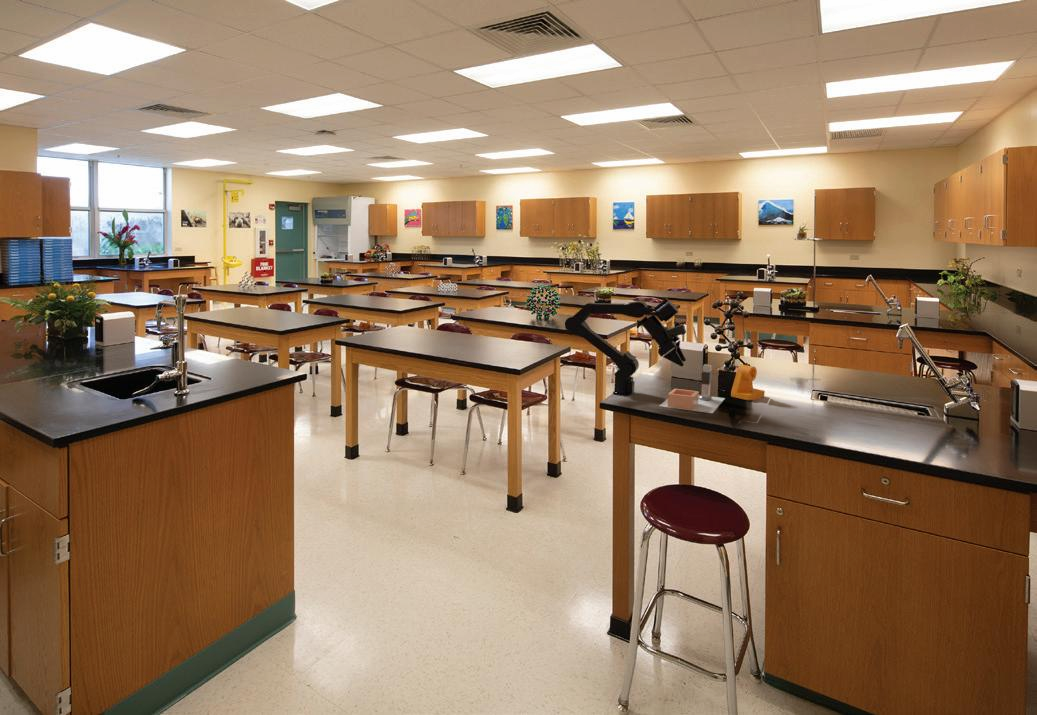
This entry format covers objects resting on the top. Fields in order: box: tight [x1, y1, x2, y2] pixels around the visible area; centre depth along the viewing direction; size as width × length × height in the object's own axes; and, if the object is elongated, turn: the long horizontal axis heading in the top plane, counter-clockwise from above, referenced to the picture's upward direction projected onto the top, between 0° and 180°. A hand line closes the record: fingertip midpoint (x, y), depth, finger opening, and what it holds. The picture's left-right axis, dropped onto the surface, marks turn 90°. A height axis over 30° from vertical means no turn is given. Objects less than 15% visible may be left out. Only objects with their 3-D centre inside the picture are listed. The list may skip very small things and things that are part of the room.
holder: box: [667, 388, 700, 411], centre depth 205 cm, size 8×8×4 cm
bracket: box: [730, 364, 766, 401], centre depth 215 cm, size 11×7×12 cm, turn 127°
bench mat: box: [658, 394, 726, 414], centre depth 209 cm, size 18×22×1 cm
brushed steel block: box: [699, 363, 713, 401], centre depth 212 cm, size 4×4×12 cm
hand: (683, 363), depth 213 cm, fingers open, 9 cm apart
